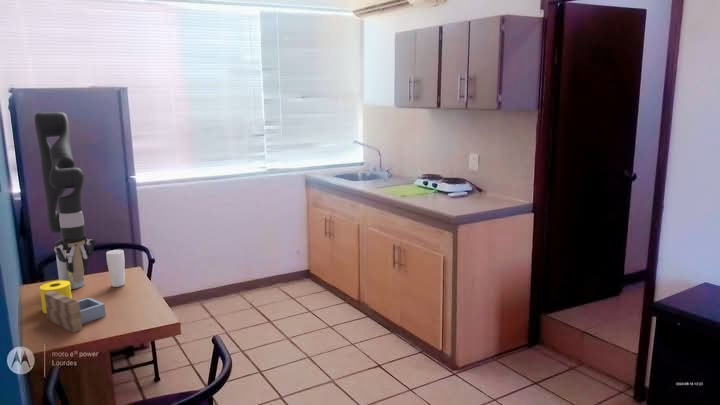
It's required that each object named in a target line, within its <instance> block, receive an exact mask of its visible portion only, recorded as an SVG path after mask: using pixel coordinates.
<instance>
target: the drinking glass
mask: <svg viewBox="0 0 720 405" xmlns="http://www.w3.org/2000/svg"><path fill="white" fill-rule="evenodd" d="M105 255H106V264H107V268H108V273H109V278H110V285H111V287H112V288H119V287H123V286H125V285H126V281H125V279H126V278H125V272H126V270H125V269H126V268H125V267H126V266H125V264H126V263H125V253H124V250H123V249H113V250H111V249H110V250H107V251H106V254H105Z"/></svg>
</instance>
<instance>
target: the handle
mask: <svg viewBox="0 0 720 405" xmlns="http://www.w3.org/2000/svg"><path fill="white" fill-rule="evenodd" d="M84 244H85V240H83V241H78V242H74V243H69V244H68V247H71V246H72V247H74V248H75V249H74V255H73V257H72V263H73V271H74V272H73V273H72V276H73V279H74V282H75V283H77V282H82V281H84V282H85V277H84V278H83V276H85V269H84V266H83V260H82V255H81V250H80V246H82V245H84ZM85 245H86V244H85Z"/></svg>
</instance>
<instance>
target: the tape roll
mask: <svg viewBox="0 0 720 405" xmlns="http://www.w3.org/2000/svg"><path fill="white" fill-rule="evenodd" d="M51 291H55V292H57V293H59V294H61V295H64V296H66V297H68V298H70V299H73V296H72V289H71V286H70V282H69V281H59V280H54V281H50V282H46V283H43V284H41V285H40V286H39V293H40V300H41V301H40V302H41V308H42V312H43V313H44V314H47V310H46V302H45V295H44V293H47V292H51Z"/></svg>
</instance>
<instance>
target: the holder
mask: <svg viewBox="0 0 720 405" xmlns="http://www.w3.org/2000/svg"><path fill="white" fill-rule="evenodd" d="M76 301H77V302H79V305H80V313H81V322H82V325H83V324H86V323H90V322H92V321H95V320H98V319H100V318H101V319H102V318H104V317H106V316H107V315H106V314H107V313H106V306H105V305H106V304H105V303H103V302H101V301H98V300H97V299H94V298H92V297H87V298H83V299H81V300H76Z"/></svg>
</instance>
